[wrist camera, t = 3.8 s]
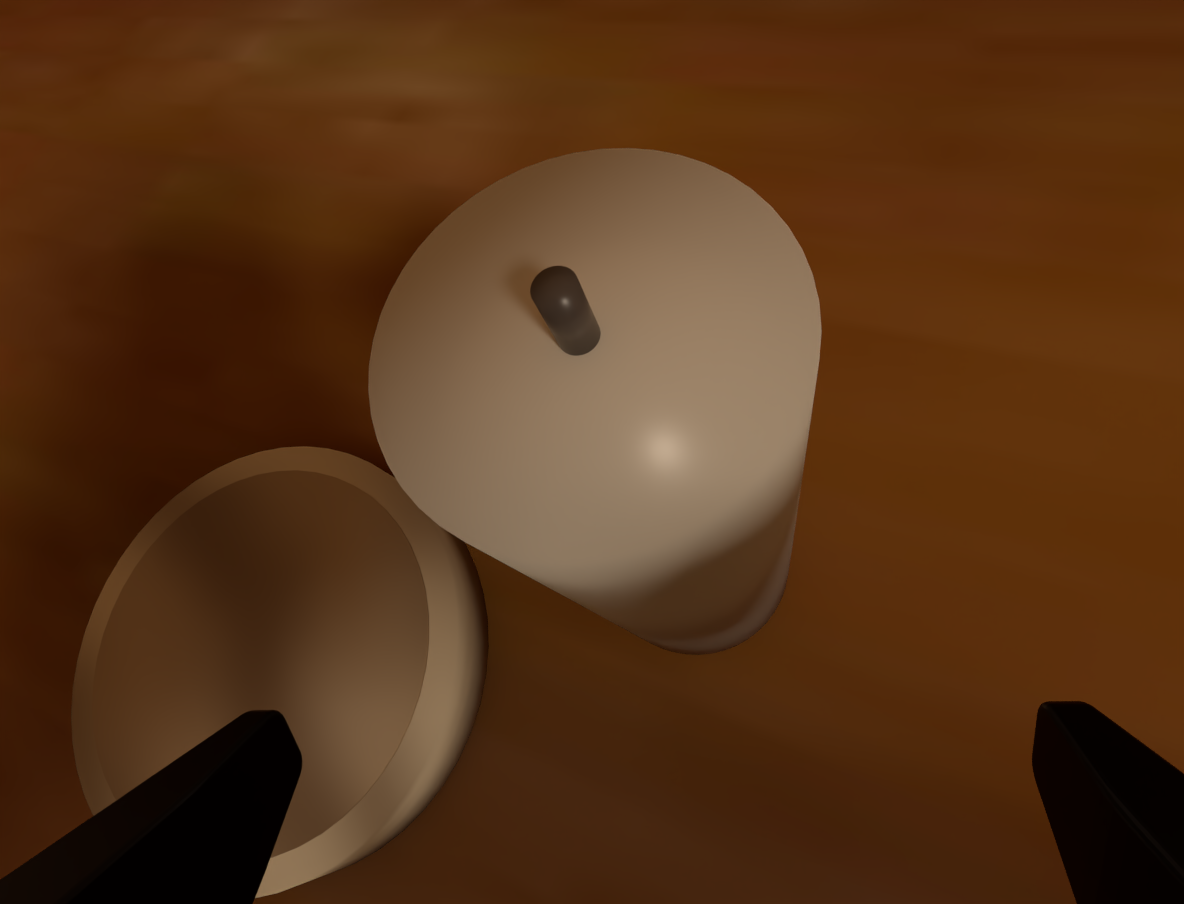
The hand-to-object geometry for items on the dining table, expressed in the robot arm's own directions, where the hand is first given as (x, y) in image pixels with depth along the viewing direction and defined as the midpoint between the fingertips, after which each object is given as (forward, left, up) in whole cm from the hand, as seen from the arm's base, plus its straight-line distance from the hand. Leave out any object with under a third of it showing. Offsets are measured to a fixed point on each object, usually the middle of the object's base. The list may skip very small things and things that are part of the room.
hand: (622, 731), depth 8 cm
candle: (+3, +3, -11) cm, 12 cm away
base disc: (-7, +10, -11) cm, 16 cm away
